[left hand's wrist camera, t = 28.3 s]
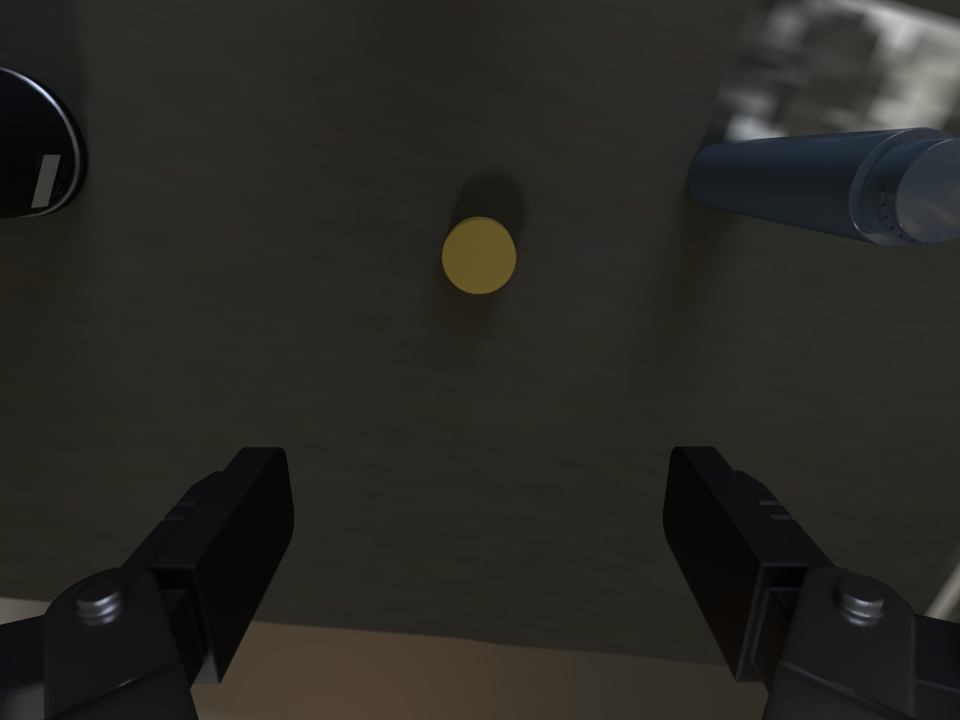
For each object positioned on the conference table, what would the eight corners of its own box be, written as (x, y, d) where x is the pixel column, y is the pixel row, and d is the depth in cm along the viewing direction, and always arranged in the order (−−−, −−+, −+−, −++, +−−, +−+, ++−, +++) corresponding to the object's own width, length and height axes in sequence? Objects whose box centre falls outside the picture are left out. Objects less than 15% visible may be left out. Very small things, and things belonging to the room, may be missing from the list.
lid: (524, 272, 41) (526, 278, 39) (459, 297, 41) (458, 304, 39) (499, 205, 39) (500, 208, 37) (432, 232, 40) (430, 236, 38)
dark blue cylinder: (676, 194, 39) (858, 228, 20) (707, 131, 37) (935, 103, 19) (731, 218, 39) (959, 272, 21) (764, 156, 38) (1040, 153, 19)
